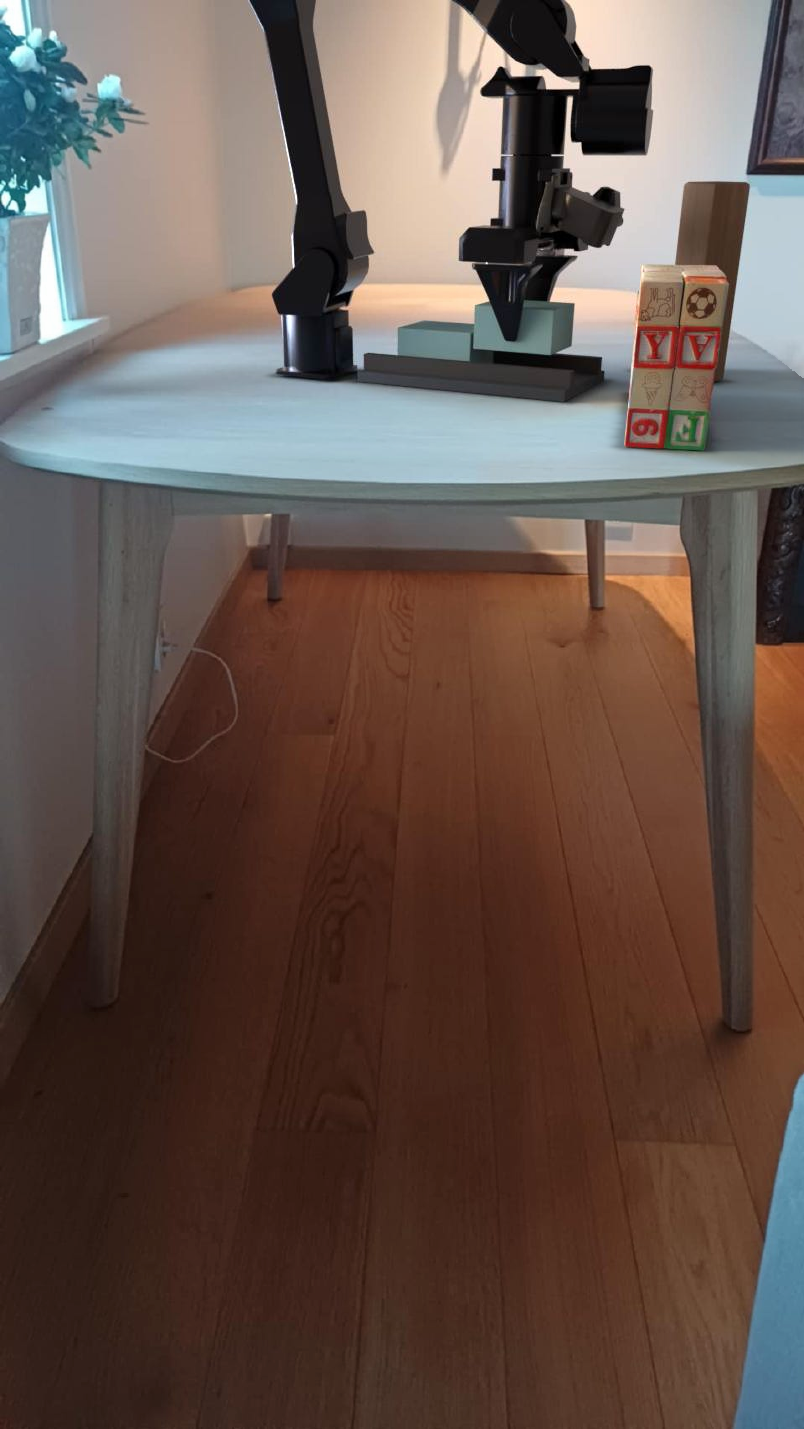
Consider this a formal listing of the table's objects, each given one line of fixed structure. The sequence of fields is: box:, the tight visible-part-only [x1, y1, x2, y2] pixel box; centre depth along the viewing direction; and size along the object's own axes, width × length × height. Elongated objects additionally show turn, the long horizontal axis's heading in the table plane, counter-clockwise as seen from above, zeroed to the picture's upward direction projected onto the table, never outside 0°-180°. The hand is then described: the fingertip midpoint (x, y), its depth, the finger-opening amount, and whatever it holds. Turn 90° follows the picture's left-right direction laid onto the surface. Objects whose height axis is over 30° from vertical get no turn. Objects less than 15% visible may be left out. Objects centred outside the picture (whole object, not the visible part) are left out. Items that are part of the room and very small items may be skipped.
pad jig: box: [357, 320, 606, 403], centre depth 105 cm, size 22×12×5 cm, turn 63°
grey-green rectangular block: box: [473, 300, 576, 355], centre depth 102 cm, size 8×6×4 cm
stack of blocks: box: [623, 263, 729, 451], centre depth 88 cm, size 21×6×12 cm, turn 168°
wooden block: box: [674, 180, 751, 382], centre depth 104 cm, size 9×4×18 cm, turn 27°
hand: (522, 336), depth 102 cm, fingers closed on grey-green rectangular block, 6 cm apart
